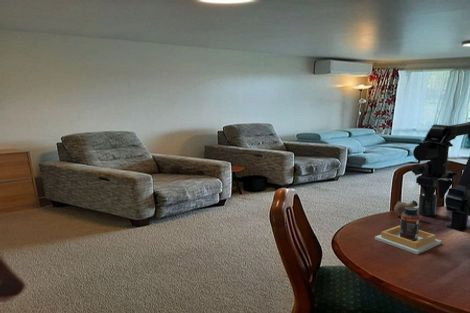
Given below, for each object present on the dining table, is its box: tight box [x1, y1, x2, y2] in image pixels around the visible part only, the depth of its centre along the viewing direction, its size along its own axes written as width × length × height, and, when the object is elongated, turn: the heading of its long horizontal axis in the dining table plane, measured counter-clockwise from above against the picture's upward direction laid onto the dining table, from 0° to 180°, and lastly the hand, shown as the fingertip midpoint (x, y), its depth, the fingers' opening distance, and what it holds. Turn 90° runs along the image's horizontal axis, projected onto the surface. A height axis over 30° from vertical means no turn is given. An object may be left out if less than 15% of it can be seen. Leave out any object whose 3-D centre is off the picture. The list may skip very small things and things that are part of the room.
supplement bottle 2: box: [417, 187, 438, 217], centre depth 167 cm, size 7×7×12 cm
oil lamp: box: [393, 200, 419, 218], centre depth 163 cm, size 9×4×8 cm, turn 60°
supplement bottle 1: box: [399, 207, 420, 241], centre depth 136 cm, size 6×6×11 cm
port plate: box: [374, 224, 442, 255], centre depth 137 cm, size 16×16×3 cm
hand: (434, 200), depth 143 cm, fingers open, 9 cm apart
